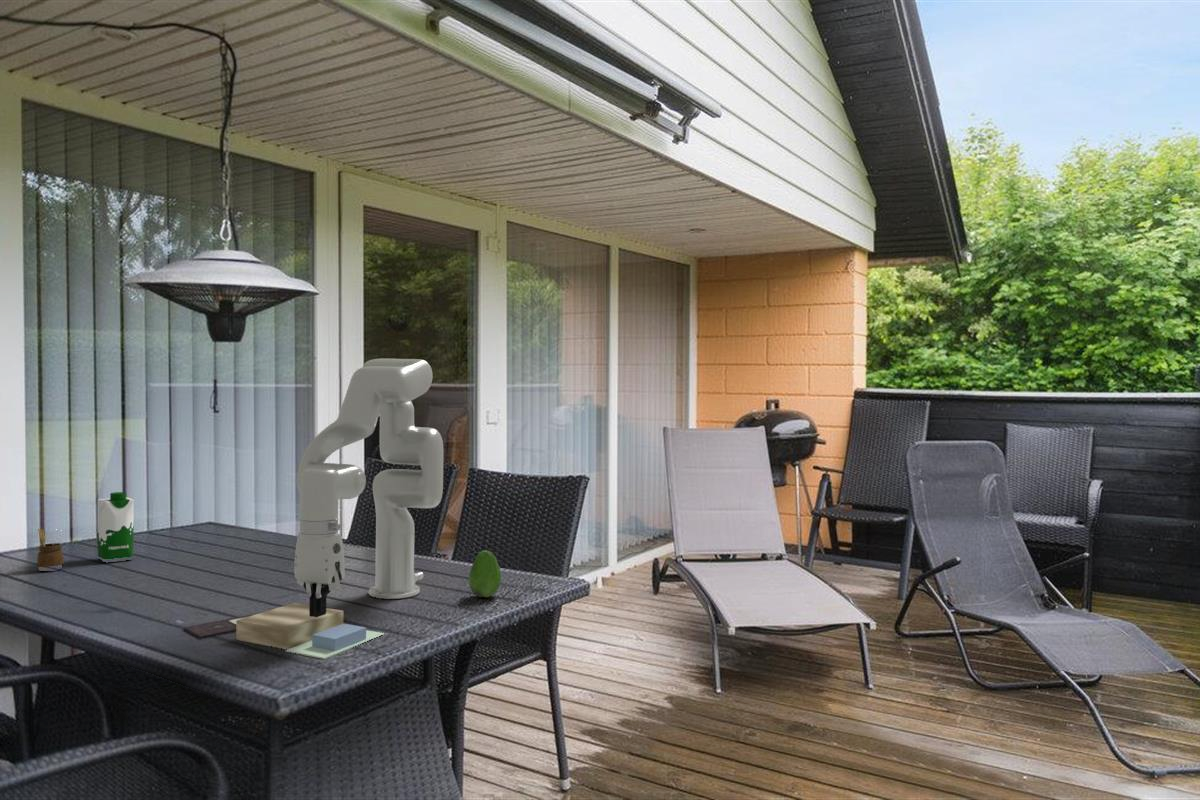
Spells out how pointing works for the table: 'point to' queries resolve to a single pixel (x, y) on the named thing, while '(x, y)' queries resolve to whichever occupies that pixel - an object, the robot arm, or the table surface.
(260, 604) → the table surface
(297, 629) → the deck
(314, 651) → the mat
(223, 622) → the chocolate bar
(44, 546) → the utensil holder
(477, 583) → the avocado
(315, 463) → the robot arm
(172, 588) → the table surface
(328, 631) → the blue-grey foam block
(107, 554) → the milk carton
